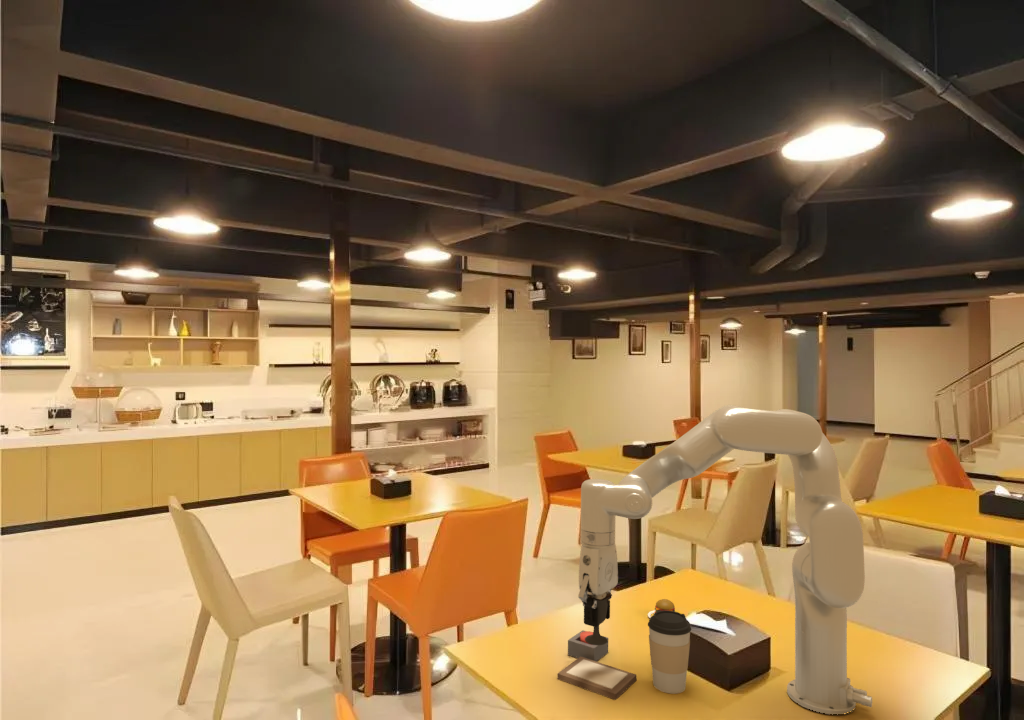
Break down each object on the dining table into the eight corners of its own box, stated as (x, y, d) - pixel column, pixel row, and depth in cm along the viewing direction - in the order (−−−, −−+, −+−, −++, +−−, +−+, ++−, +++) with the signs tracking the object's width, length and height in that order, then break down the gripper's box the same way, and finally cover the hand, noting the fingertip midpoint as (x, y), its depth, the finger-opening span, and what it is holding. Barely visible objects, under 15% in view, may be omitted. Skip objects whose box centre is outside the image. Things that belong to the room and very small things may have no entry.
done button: (599, 642, 145) (599, 634, 145) (591, 648, 142) (591, 639, 142) (585, 638, 147) (585, 629, 147) (577, 643, 144) (577, 635, 144)
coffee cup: (649, 694, 127) (649, 621, 127) (645, 673, 136) (646, 605, 136) (694, 697, 125) (694, 624, 126) (687, 676, 134) (687, 607, 135)
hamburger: (635, 612, 171) (635, 592, 171) (676, 610, 173) (676, 591, 173) (651, 630, 160) (651, 609, 160) (694, 628, 161) (694, 607, 161)
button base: (608, 652, 145) (608, 637, 145) (594, 663, 140) (594, 648, 140) (582, 644, 149) (582, 630, 150) (567, 655, 144) (567, 640, 144)
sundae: (602, 650, 128) (603, 578, 128) (575, 641, 132) (575, 571, 132) (617, 639, 133) (617, 570, 134) (590, 631, 137) (591, 564, 138)
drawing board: (636, 680, 132) (636, 673, 132) (615, 700, 124) (615, 693, 124) (580, 661, 141) (580, 655, 141) (557, 678, 133) (557, 672, 133)
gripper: (594, 549, 124) (593, 639, 124) (630, 532, 138) (629, 613, 137) (562, 542, 128) (561, 629, 128) (600, 526, 142) (600, 605, 142)
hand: (597, 620), depth 133 cm, fingers closed on sundae, 4 cm apart
